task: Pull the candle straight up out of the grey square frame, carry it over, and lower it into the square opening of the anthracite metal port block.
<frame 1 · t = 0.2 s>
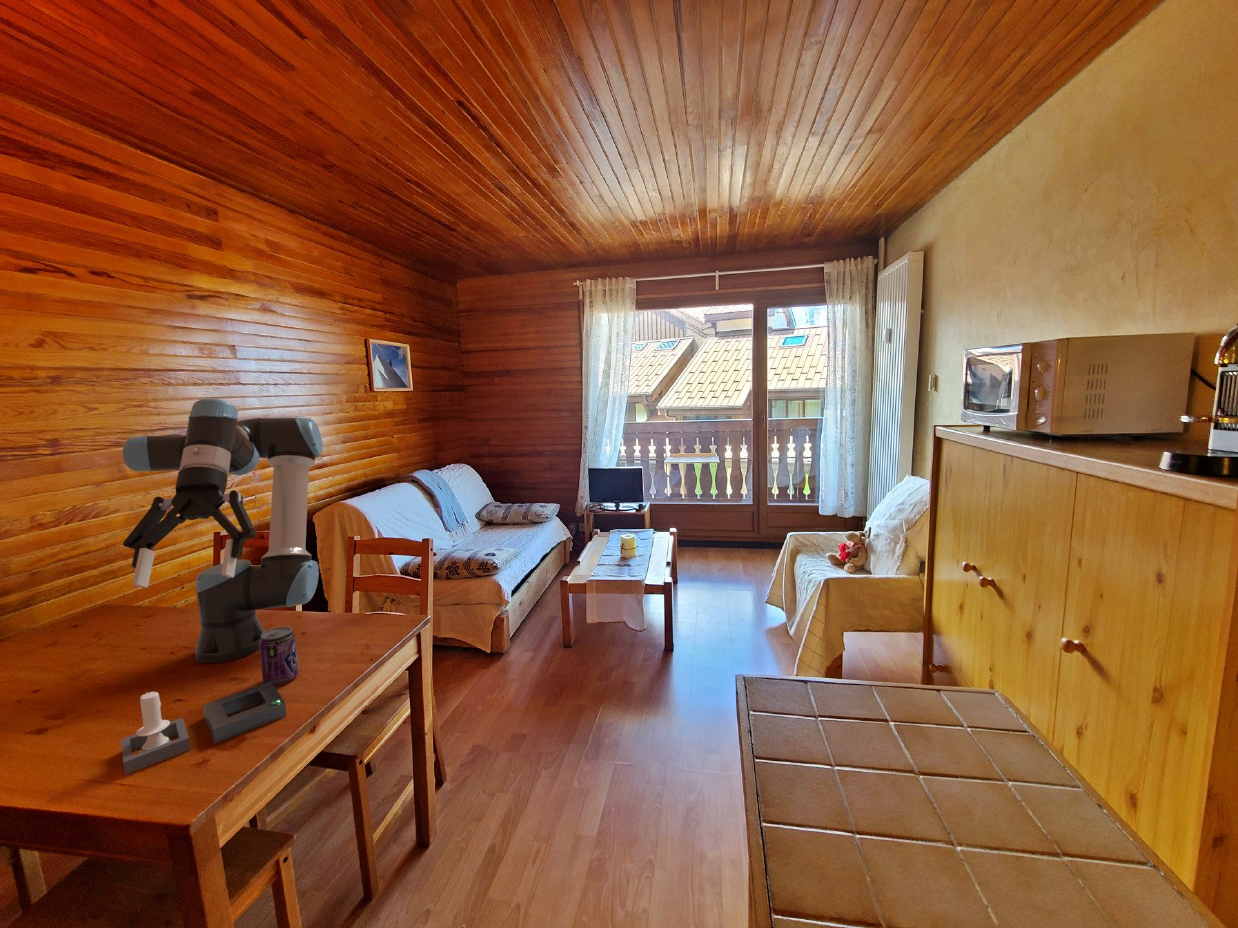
hand: (184, 581, 90), 35 cm above the table, tool tilted 30°, fingers open, 13 cm apart
grey square frame: (156, 750, 97), on the table
candle: (156, 751, 97), resting in grey square frame
beverage can: (281, 680, 121), on the table
port block: (245, 716, 107), on the table
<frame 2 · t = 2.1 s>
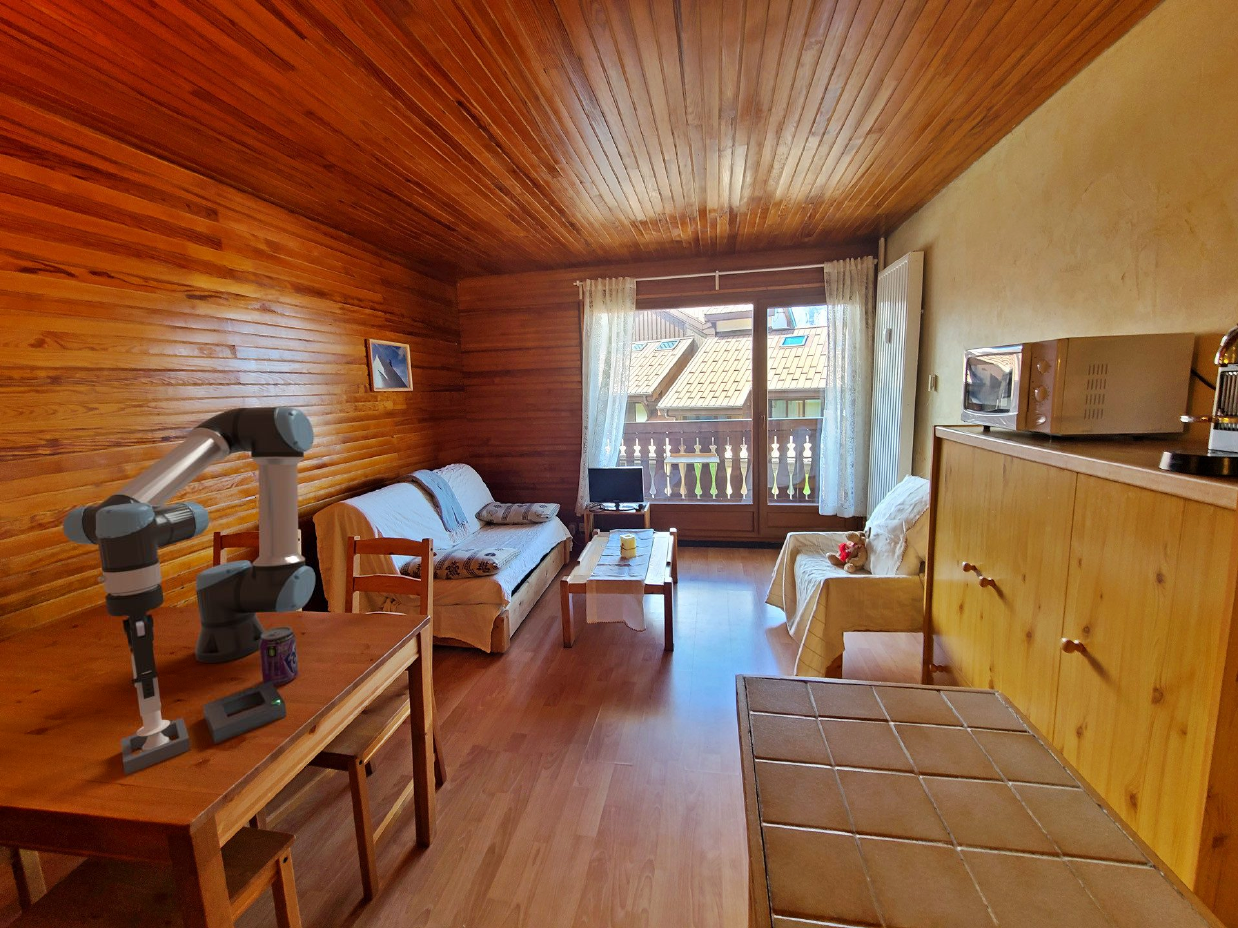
hand: (147, 697, 95), 11 cm above the table, tool pointing down, fingers open, 13 cm apart
nothing on the table moved.
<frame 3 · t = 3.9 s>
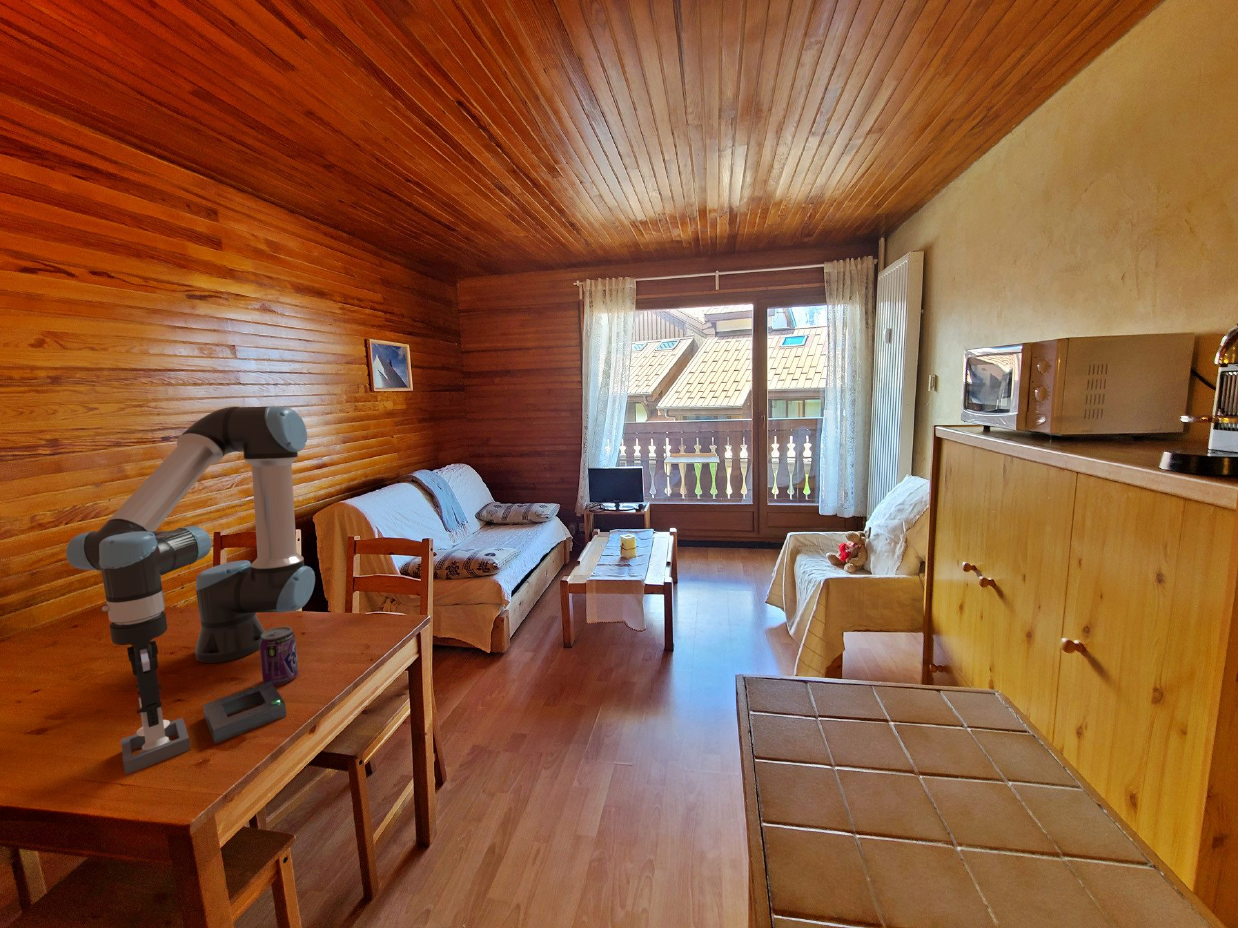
hand: (154, 732, 96), 4 cm above the table, tool pointing down, fingers closed on candle, 5 cm apart
candle: (156, 751, 97), resting in grey square frame, touching gripper
everything else where it was.
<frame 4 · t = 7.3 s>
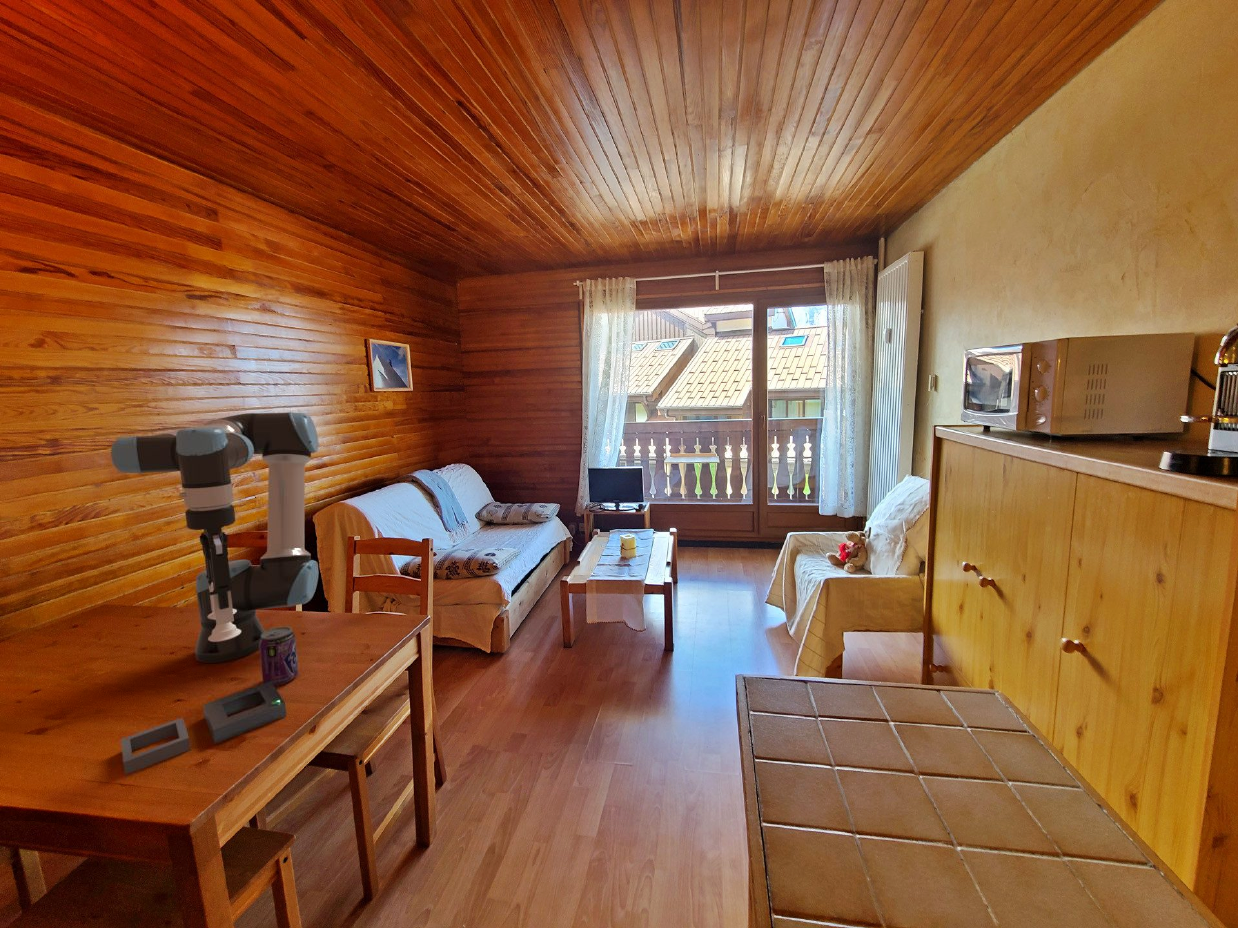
hand: (223, 618, 102), 23 cm above the table, tool pointing down, fingers closed on candle, 5 cm apart
candle: (225, 636, 103), point 19 cm above the table, touching gripper
everything else where it was.
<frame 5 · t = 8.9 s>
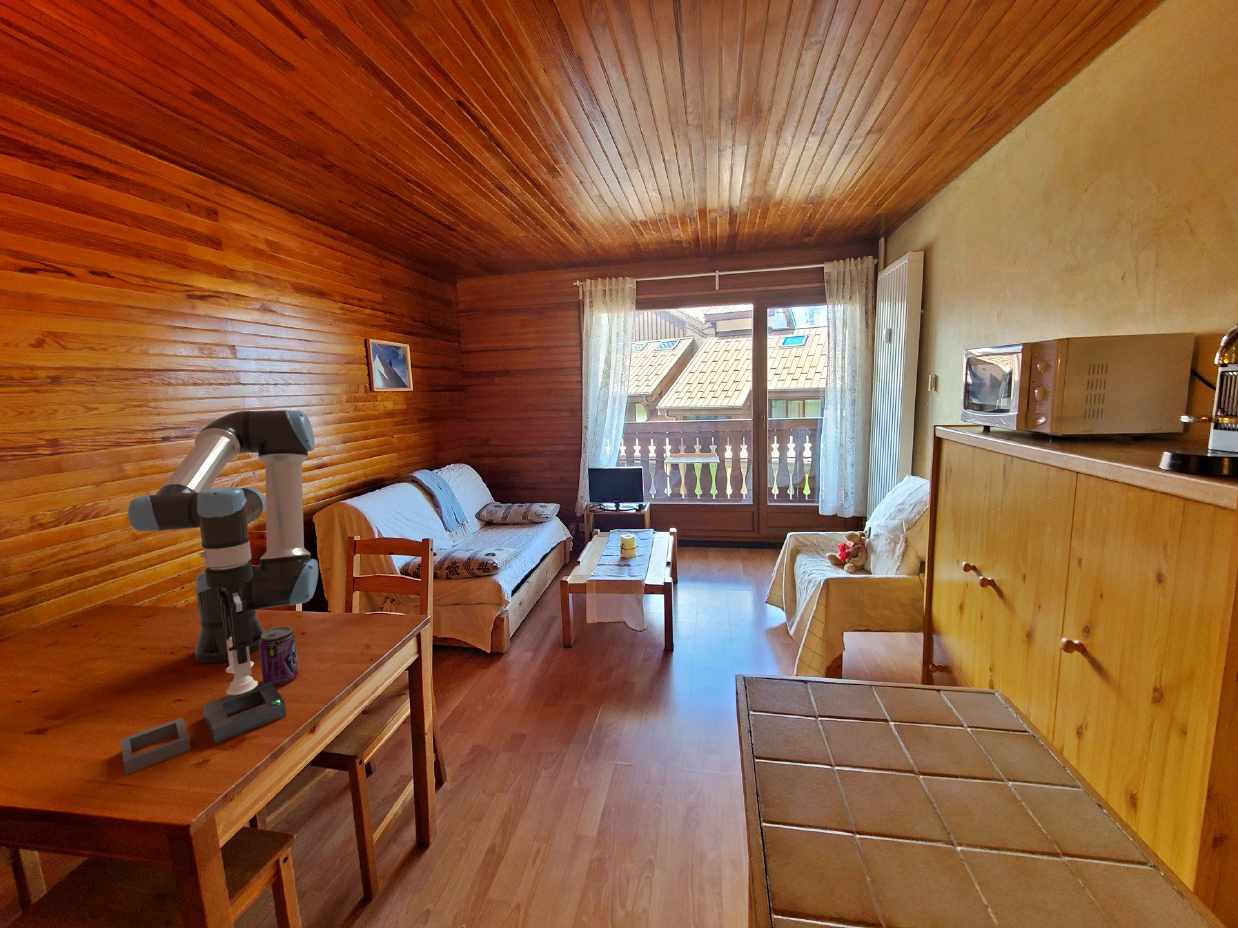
hand: (240, 671, 105), 10 cm above the table, tool pointing down, fingers closed on candle, 5 cm apart
candle: (242, 688, 106), point 6 cm above the table, touching gripper
everything else where it was.
when the fingers open (5 cm above the table, at t = 10.6 s): candle drops 1 cm, resting in port block.
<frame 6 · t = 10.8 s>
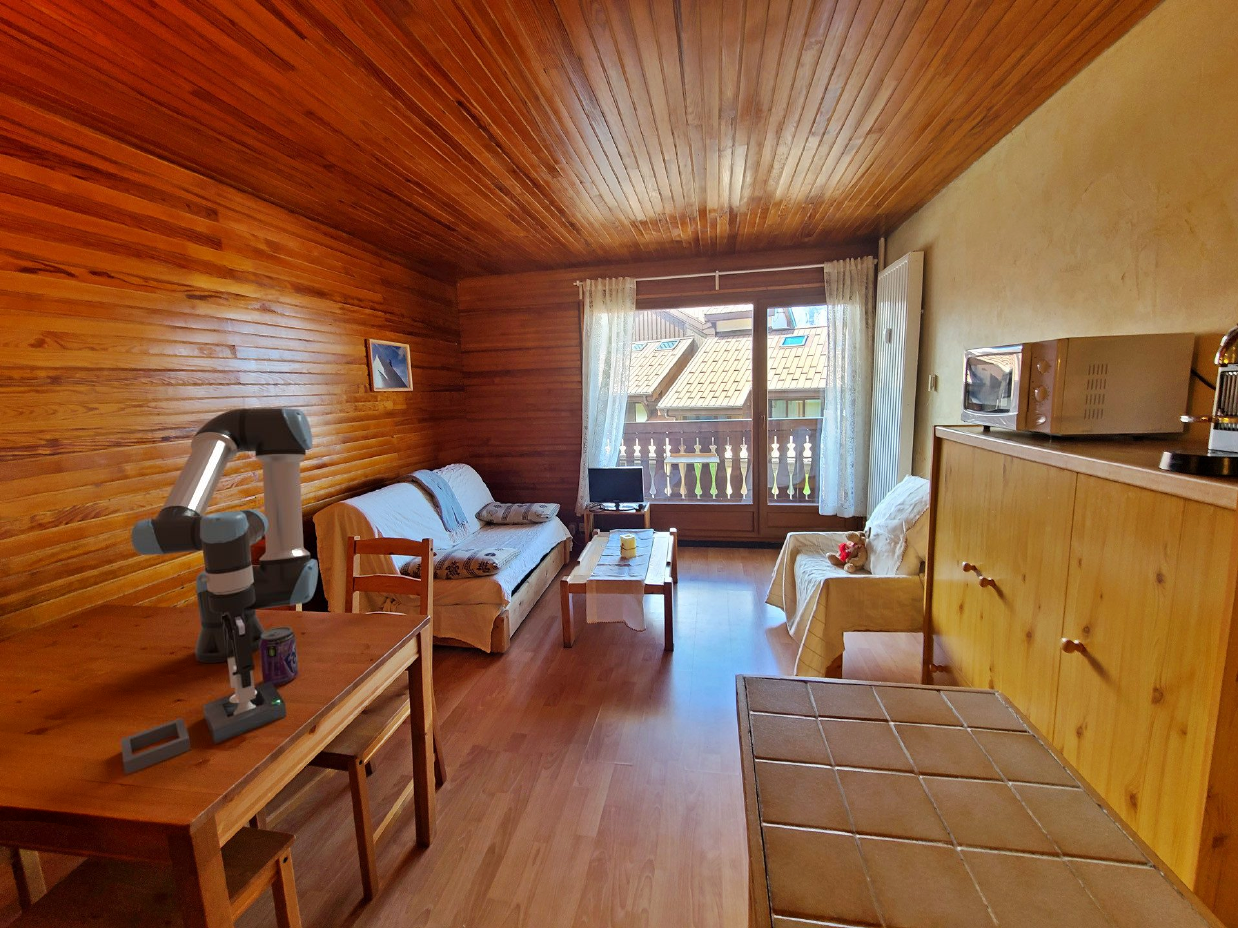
hand: (242, 691, 106), 6 cm above the table, tool pointing down, fingers open, 7 cm apart
candle: (245, 717, 107), resting in port block
everything else where it was.
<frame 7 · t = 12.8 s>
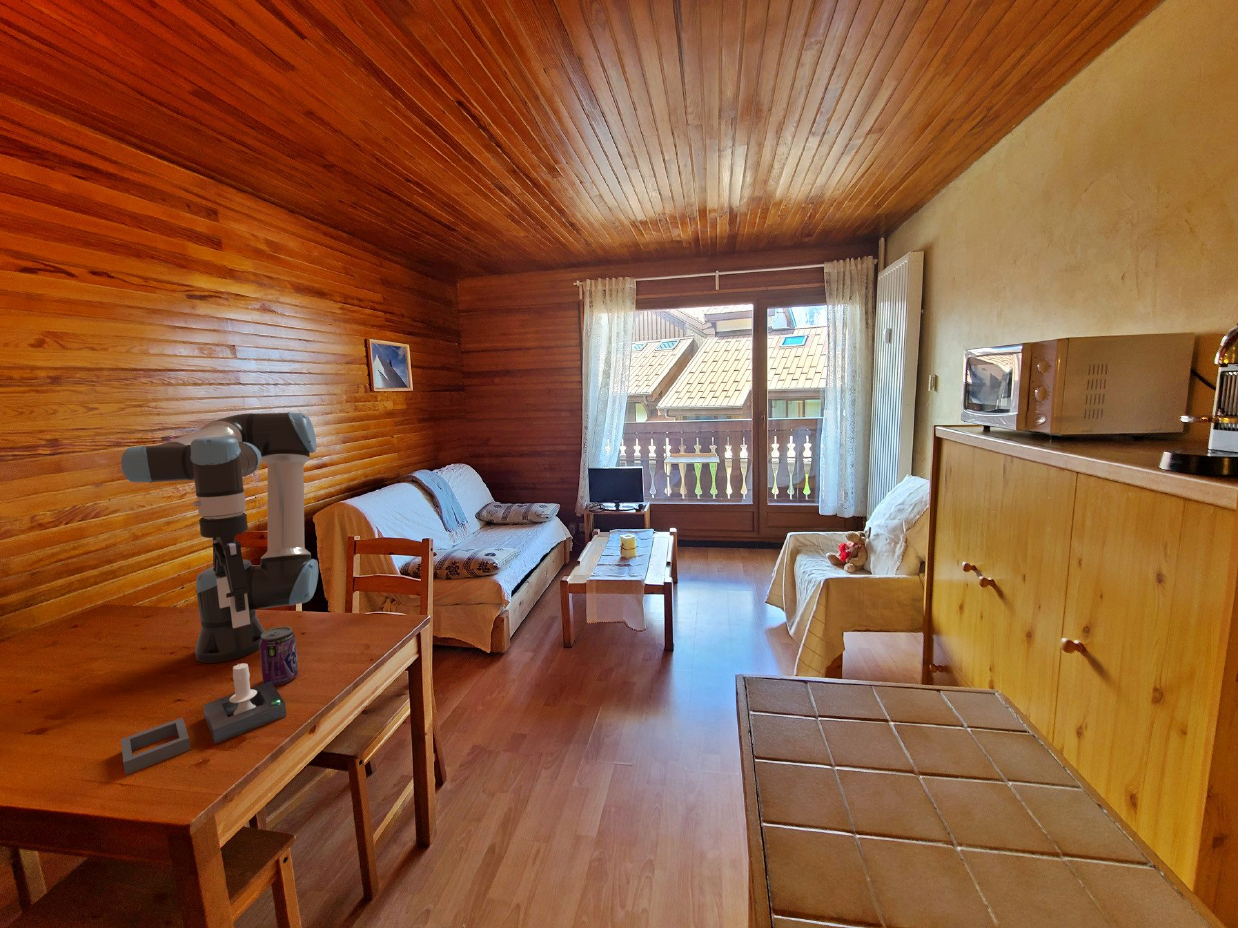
hand: (234, 615, 104), 23 cm above the table, tool pointing down, fingers open, 13 cm apart
nothing on the table moved.
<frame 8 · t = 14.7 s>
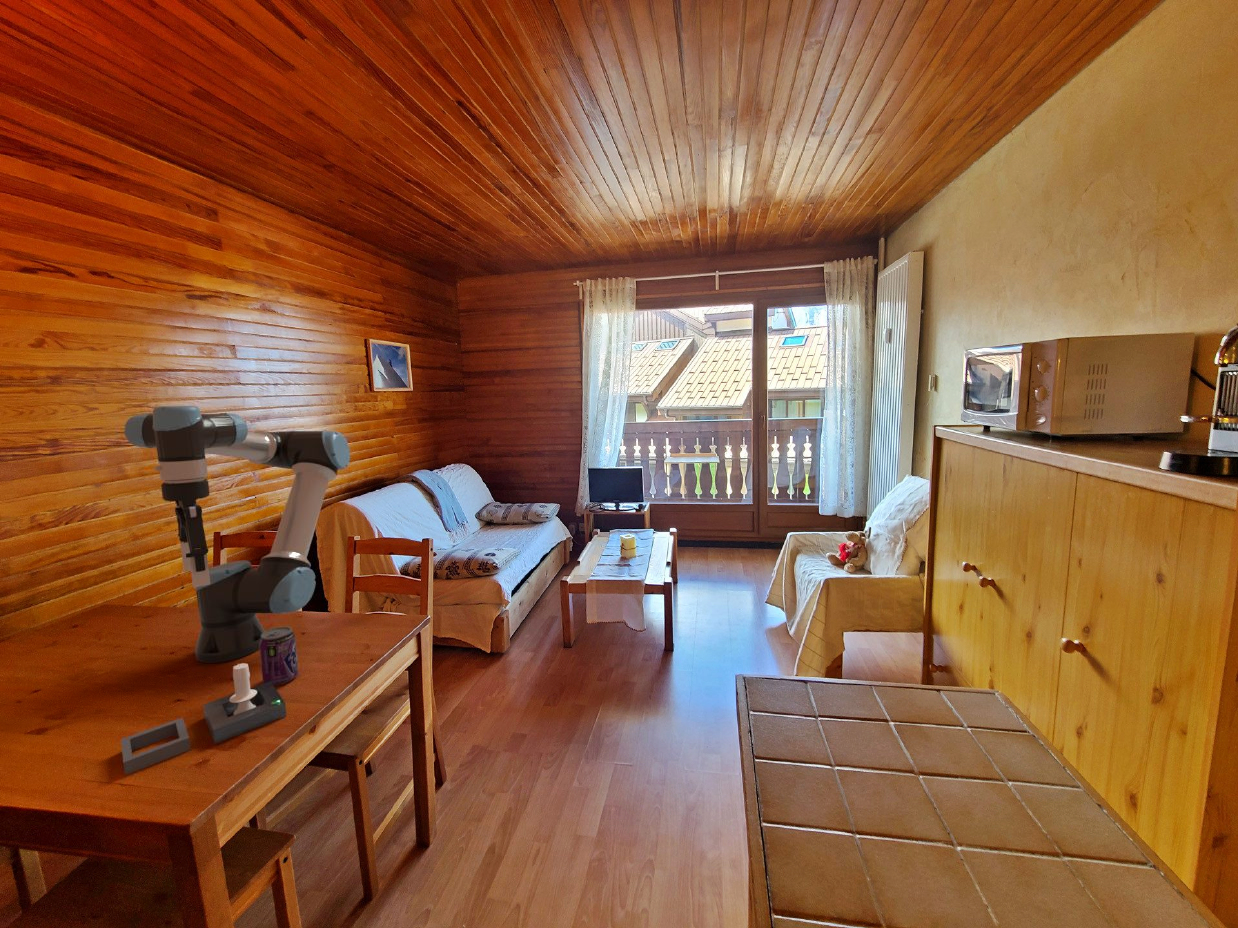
hand: (196, 577, 108), 29 cm above the table, tool pointing down, fingers open, 13 cm apart
nothing on the table moved.
at the end: candle 0.0 cm off-centre on the port block, point 0.0 cm above the port block's base; candle tilted 0°; the gripper is holding nothing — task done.
